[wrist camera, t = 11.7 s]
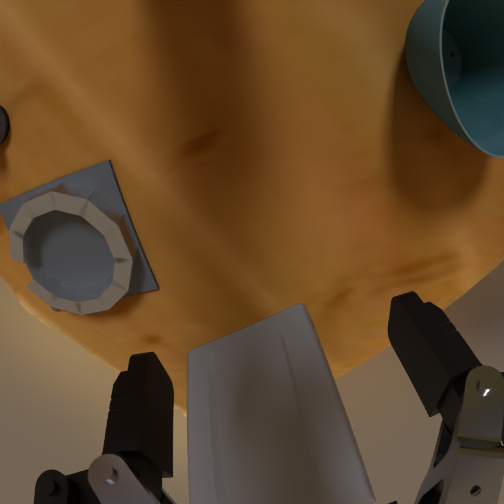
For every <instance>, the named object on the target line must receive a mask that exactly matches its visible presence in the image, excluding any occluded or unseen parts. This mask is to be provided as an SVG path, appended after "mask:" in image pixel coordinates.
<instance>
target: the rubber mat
mask: <svg viewBox="0 0 504 504" xmlns="http://www.w3.org/2000/svg"><path fill="white" fill-rule="evenodd" d="M60 182H67V183H72V184H76V185H81V186H85V187H90V188H94V189H96V190H98V191H99V192H100V193H102V194H103V195H104V196H105V197H106V198H107V199H108V200H109V201H111V202H112V203H113V204H114V205H115V206H116V207H117V208H119V209H120V210H121V211H122V212H123V213H124V214H125V216H126V218H127V221H128V224H129V226H130V229H131V231H132V234H133V236H134V239H135V241H136V244H137V253H136V259H135V265H134V271H133V276H132V280H131V283H130V286H129V290H128V291H127V292H126V293H125V294H124V295H123V296H128V295H133V294H137V293H142V292H147V291H151V290H156V289H158V287H159V286H158V283H157V281H156V279H155V276H154V274H153V272H152V269H151V267H150V265H149V262H148V260H147V258H146V255H145V253H144V250H143V248H142V245H141V243H140V240H139V238H138V235H137V233H136V230H135V228H134V225H133V222H132V220H131V217H130V214H129V212H128V209H127V206H126V204H125V201H124V198H123V195H122V193H121V190H120V187H119V184H118V181H117V178H116V175H115V173H114V170H113V167H112V164H111V161H110V160H107V161H104V162H102V163H99V164H96V165H93V166H90V167H88V168H85V169H82V170H79V171H77V172H74V173H72V174H69V175H66V176H64V177H61V178H59V179H56V180H54V181H51V182H49V183H47V184H44V185H42V186H39V187H37V188H35V189H32V190H30V191H28V192H26V193H23V194H21V195H19V196H17V197H15V198H12V199H10V200H8V201H6V202H4V203H2V204H0V212H1V215H2V217H3V219H4V221H5V223H6V226H7V228H8V230H9V228H10V226H11V224H12V222H13V221H14V219H15V217H16V215H17V213H18V211H19V210H20V208H21V206H22V204H23V203H24V202H25V201H26V200H27V199H29V198H30V197H31V196H32V195H33V194H34V193H36V192H38V191H41V190H43V189H45V188H48V187H50V186H53V185H55V184H58V183H60ZM25 263H26V265H27V267H28V269H29V271H30V272H31V274H32V276H33V277H34V276H35V274H36V273H37V271H38V270H39V268H40V267H41V265H42V266H43V267H44V268H45V269H46V270H48V271H49V272H50V273H51V274H53V275H54V276H55V277H56V278H58V279H59V280H60V281H61V282H63V283H67V284H71V285H75V286H78V287H82V288H86V287H90V286H95V285H99V284H103V283H105V282H106V281H107V280H108V279H109V277H110V276H111V275H112V274H113V273H114V264H115V259H114V257H113V255H112V253H111V250H110V248H109V246H108V244H107V241H106V239H105V237H104V235H103V234H102V233H101V232H99V231H98V230H97V229H96V228H95V227H94V226H92V225H91V224H90V223H89V222H88V221H87V220H85V219H84V218H83V217H82V216H79V215H75V214H71V213H67V212H63V211H58V210H53V211H50V212H47V213H45V214H42V215H39V216H38V217H37V219H36V221H35V222H34V224H33V251H32V253H31V254H30V255H29V257H28V258H27V259H26V261H25ZM123 296H122V297H123ZM51 308H52V309H53V311H56V310H61V309H58V308H54V307H51Z"/></svg>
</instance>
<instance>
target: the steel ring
mask: <svg viewBox="0 0 504 504" xmlns="http://www.w3.org/2000/svg"><path fill="white" fill-rule="evenodd" d="M53 210H58V211H63V212H67V213H71V214H75V215H79V216H82V217H83V218H84V219H85V220H87V221H88V222H89V223H90V224H91V225H92V226H94V227H95V228H96V229H97V230H98V231H99V232H101V233H102V234H103V235H104V237H105V239H106V241H107V244H108V246H109V248H110V250H111V253H112V255H113V257H114V259H115V264H114V273H113V274H112V275H111V276H110V277H109V279H108V280H107V281H106V282H105V283H103V284H99V285H95V286H90V287H86V288H82V287H78V286H75V285H71V284H67V283H63V282H61V281H60V280H59V279H58V278H56V277H55V276H54V275H53V274H51V273H50V272H49V271H48V270H46V269H45V268H44V267H43V266H42V265H41V267H40V268H39V270H38V271H37V273H36V274H35V276H34V277H33V279H32V280H31V282H30V284H29V285H28V287H27V288H28V289H30V290H31V291H32V292H33V293H35V294H36V295H37V296H38V297H40V298H41V299H42V300H44V301H45V302H46V303H48V304H49V305H50V306H51V307H54V308H58V309H61V310H65V311H68V312H72V313H76V314H79V315H84V314H89V313H95V312H100V311H105V310H109V309H110V308H111V307H112V306H113V305H114V304H115V303H116V302H117V301H118V300H119V299H120V298H121V297H122V296H123V295H124V294H125V293H126V292H127V291H128V290H129V286H130V283H131V280H132V276H133V271H134V265H135V259H136V253H137V244H136V241H135V239H134V236H133V234H132V231H131V229H130V226H129V224H128V221H127V218H126V216H125V214H124V213H123V212H122V211H121V210H120V209H119V208H117V207H116V206H115V205H114V204H113V203H112V202H111V201H109V200H108V199H107V198H106V197H105V196H104V195H103V194H102V193H100V192H99V191H98V190H96V189H94V188H90V187H85V186H81V185H76V184H72V183H67V182H60V183H58V184H55V185H53V186H50V187H48V188H45V189H43V190H41V191H38V192H36V193H34V194H33V195H32V196H31V197H30V198H29V199H27V200H26V201H25V202H24V203H23V204H22V206H21V208H20V210H19V211H18V213H17V215H16V217H15V219H14V221H13V222H12V224H11V226H10V228H9V238H10V252H11V259H12V260H16V261H19V262H22V263H24V262H25V261H26V259H27V258H28V257H29V255H30V254H31V253H32V251H33V224H34V222H35V221H36V219H37V217H38V216H39V215H42V214H45V213H47V212H50V211H53Z"/></svg>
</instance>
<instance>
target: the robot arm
mask: <svg viewBox="0 0 504 504" xmlns="http://www.w3.org/2000/svg"><path fill="white" fill-rule="evenodd" d="M388 337H389V340H390V343H391V345H392V347H393V349H394V350H395V352H396V354H397V356H398V358H399V359H400V361H401V363H402V365H403V367H404V369H405V370H406V372H407V374H408V376H409V378H410V380H411V382H412V384H413V386H414V388H415V389H416V391H417V393H418V395H419V397H420V399H421V401H422V403H423V405H424V407H425V409H426V410H427V413H428V415H429V417H432V416H434V415H436V414H438V413H440V414H441V416H442V418H443V420H442V422H441V426H440V431H439V435H438V439H437V443H436V446H435V450H434V454H433V458H432V461H431V464H430V467H429V470H428V473H427V475H426V477H425V478H424V480H423V482H422V484H421V487H420V489H419V492H418V495H417V497H416V500H415V503H414V504H497V502H498V498H499V494H500V489H501V485H502V480H503V475H504V446H502V445H501V440H502V442H503V444H504V372H499V371H498V370H497V369H495V368H493V367H491V366H485V365H482V364H481V363H480V362H479V360H478V359H477V357H476V356H475V354H474V353H473V351H472V350H471V349H470V347H469V346H468V344H467V343H466V342H465V340H464V339H463V337H462V336H461V335H460V333H459V332H458V331H456V328H455V326H454V325H453V324H452V322H451V323H450V320H449V319H448V317H447V316H446V315H445V313H444V312H443V311H442V309H440V308H439V307H437V306H436V305H434V304H433V303H431V302H426V303H423V301H422V300H421V299H420V297H419V296H418V295H417V294H416V293H415V292H414V291H411V292H408V293H405V294H402V295H398V296H395V297H393V298H392V300H391V307H390V315H389V322H388ZM111 399H112V400H111V401H110V407H109V409H110V411H109V413H108V419H107V426H106V433H105V440H104V447H103V452H102V455H101V456H99V457H98V458H96V459H95V460H94V461H93V462H92V463H91V465H90V467H89V469H87V470H84V471H81V472H77V473H74V474H70V475H66V476H65V475H64V474H62V473H61V472H59V471H57V470H47V471H45V472H43V473H42V474H41V475H40V476H39V478H38V479H37V482H36V487H35V496H34V504H176V503H175V502H174V501H173V499H172V498H171V497H170V496H169V495H168V494H167V492H166V491H165V490H164V489H163V488H162V478H170V477H173V408H174V389H173V384H172V381H171V379H170V377H169V375H168V374H167V372H166V370H165V369H164V367H163V366H162V364H161V362H160V361H159V359H158V357H157V356H156V354H155V353H154V352H147V353H140V354H134V355H131V357H130V360H129V365H128V371H123V372H120V374H119V376H118V378H117V379H116V381H115V383H114V384H113V389H112V395H111ZM389 504H397V501H394V502H392V503H389Z"/></svg>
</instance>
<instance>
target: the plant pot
mask: <svg viewBox="0 0 504 504" xmlns="http://www.w3.org/2000/svg"><path fill="white" fill-rule="evenodd" d="M450 53H453V57H451V55H450ZM405 56H406V62H407V67H408V70H409V73H410V76H411V78H412V81H413V83H414V85H415V87H416V89H417V90H418V92H419V94H420V95H421V97H422V98H423V100H424V101H425V102H426V104H427V105H428V106H429V108H430V109H431V110H432V111H433V112H434V113H435V114H436V116H437V117H438V118H439V119H440V120H441V121H442V122H443V123H444V124H445V125H447V126H448V127H449V128H450V129H451V130H452V131H453V132H455V133H456V134H457V135H458V136H460V137H461V138H462V139H464V140H465V141H466V142H468V143H469V144H471V145H472V146H474V147H475V148H477V149H479V150H480V151H482V152H484V153H486V154H488V155H490V156H493V157H496V158H504V0H425V1H424V2H423V3H422V4H421V5H420V7H419V8H418V9H417V11H416V12H415V14H414V15H413V17H412V19H411V21H410V24H409V26H408V29H407V33H406V39H405Z"/></svg>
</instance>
